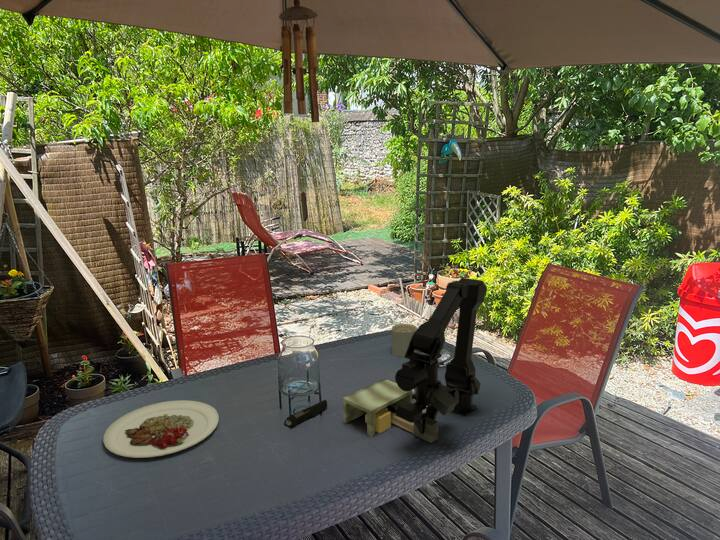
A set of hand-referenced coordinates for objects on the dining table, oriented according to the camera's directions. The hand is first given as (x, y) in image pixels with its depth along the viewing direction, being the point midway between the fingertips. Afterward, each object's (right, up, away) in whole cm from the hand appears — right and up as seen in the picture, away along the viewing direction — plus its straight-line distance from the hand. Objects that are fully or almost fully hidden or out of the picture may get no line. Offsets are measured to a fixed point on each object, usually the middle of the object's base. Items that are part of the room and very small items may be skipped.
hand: (425, 431), depth 135 cm
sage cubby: (-12, 0, +11) cm, 17 cm away
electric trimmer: (-33, 0, +13) cm, 36 cm away
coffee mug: (+1, +11, +61) cm, 62 cm away
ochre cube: (-12, -1, +6) cm, 14 cm away
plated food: (-73, -2, +6) cm, 73 cm away
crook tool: (-6, -1, +4) cm, 8 cm away
